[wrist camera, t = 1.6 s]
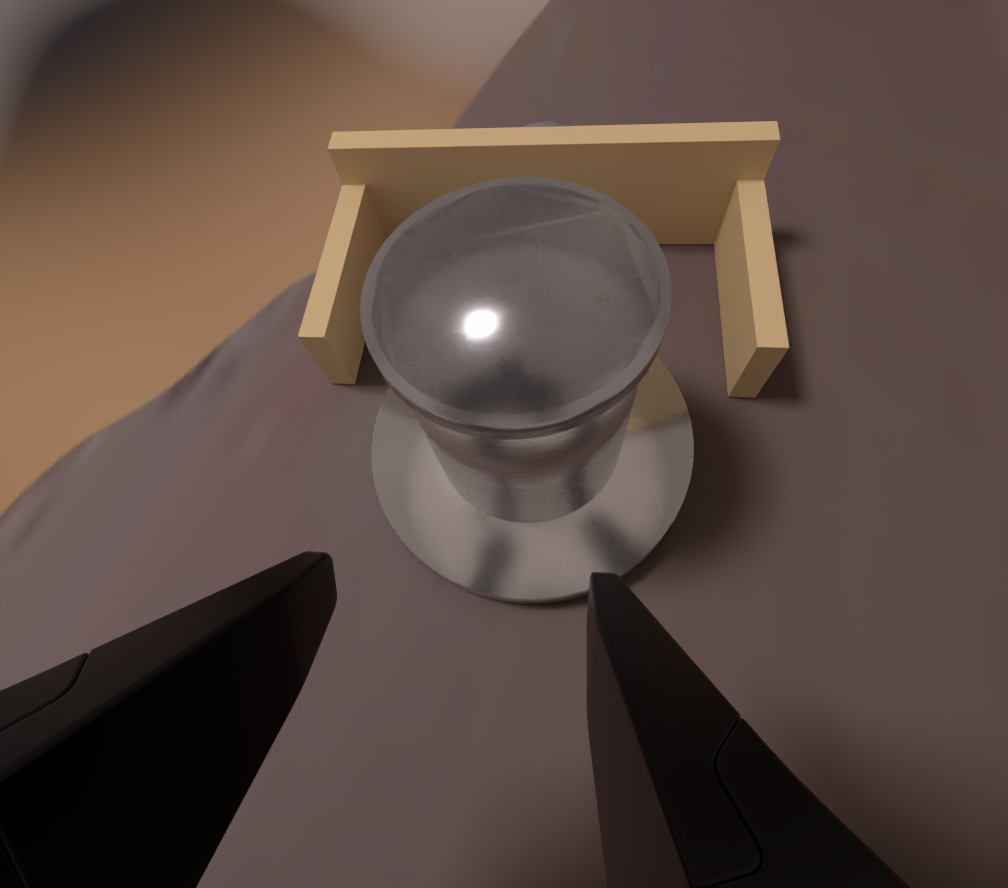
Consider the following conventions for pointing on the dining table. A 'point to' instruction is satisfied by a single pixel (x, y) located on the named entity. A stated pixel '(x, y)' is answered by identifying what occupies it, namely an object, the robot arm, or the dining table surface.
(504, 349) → the door knob
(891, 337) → the dining table surface
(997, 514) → the dining table surface
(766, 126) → the tan wooden u-frame
